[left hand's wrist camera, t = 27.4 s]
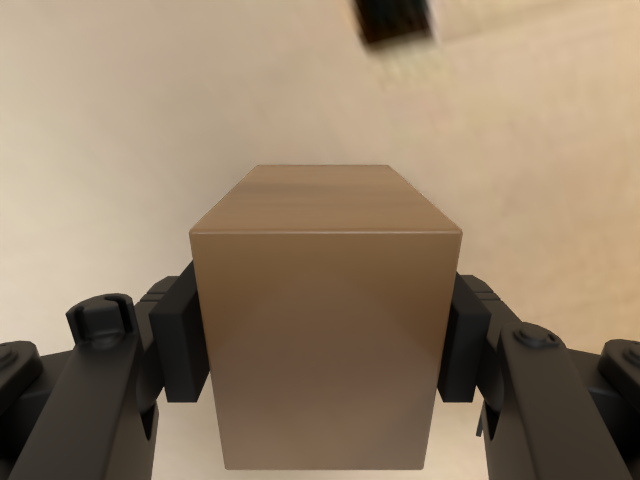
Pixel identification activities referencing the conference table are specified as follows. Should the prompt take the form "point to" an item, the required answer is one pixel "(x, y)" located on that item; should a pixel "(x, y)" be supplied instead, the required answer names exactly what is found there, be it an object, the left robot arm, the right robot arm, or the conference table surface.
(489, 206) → the conference table surface
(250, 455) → the block
